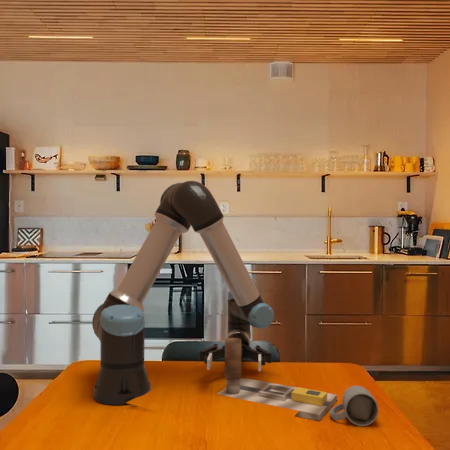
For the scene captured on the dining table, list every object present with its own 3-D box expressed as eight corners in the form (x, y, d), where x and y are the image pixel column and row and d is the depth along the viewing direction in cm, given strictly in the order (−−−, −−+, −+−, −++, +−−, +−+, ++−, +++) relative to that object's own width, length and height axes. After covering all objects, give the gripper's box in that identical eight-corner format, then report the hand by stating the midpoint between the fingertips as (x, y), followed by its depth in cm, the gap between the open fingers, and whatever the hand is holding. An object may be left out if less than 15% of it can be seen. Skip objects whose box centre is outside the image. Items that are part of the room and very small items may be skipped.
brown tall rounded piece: (221, 392, 128) (222, 340, 128) (229, 387, 132) (229, 337, 132) (236, 395, 126) (236, 342, 126) (243, 390, 130) (244, 339, 130)
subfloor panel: (216, 399, 128) (216, 389, 128) (241, 382, 141) (242, 373, 141) (319, 421, 114) (319, 409, 114) (336, 400, 127) (336, 390, 127)
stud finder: (291, 400, 123) (291, 391, 123) (297, 394, 127) (297, 386, 127) (322, 406, 119) (322, 397, 119) (327, 400, 123) (327, 391, 123)
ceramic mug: (371, 412, 119) (370, 382, 119) (379, 427, 111) (378, 393, 111) (327, 412, 120) (327, 381, 120) (332, 426, 112) (332, 393, 112)
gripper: (278, 357, 148) (281, 381, 127) (197, 355, 149) (187, 378, 128) (278, 333, 148) (281, 352, 126) (197, 331, 149) (187, 350, 128)
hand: (233, 365), depth 127 cm, fingers open, 13 cm apart
